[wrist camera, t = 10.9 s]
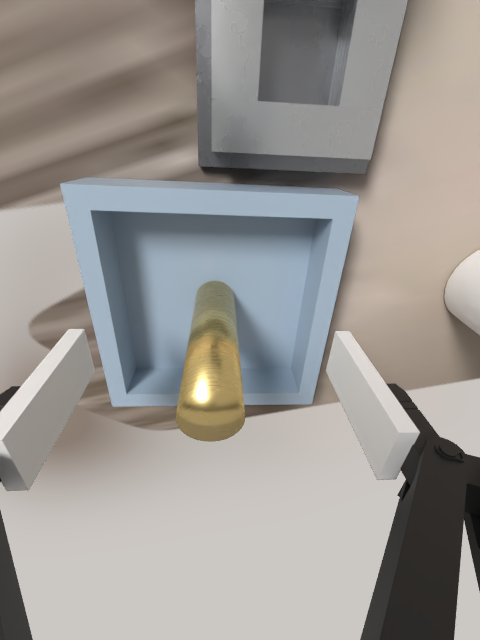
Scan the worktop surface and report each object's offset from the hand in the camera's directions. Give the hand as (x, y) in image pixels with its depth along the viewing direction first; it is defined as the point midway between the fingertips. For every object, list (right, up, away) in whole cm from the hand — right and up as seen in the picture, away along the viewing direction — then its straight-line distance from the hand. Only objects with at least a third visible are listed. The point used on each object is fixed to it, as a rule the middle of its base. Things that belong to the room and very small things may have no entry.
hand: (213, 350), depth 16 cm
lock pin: (0, +3, +6) cm, 6 cm away
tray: (0, +4, +6) cm, 7 cm away
